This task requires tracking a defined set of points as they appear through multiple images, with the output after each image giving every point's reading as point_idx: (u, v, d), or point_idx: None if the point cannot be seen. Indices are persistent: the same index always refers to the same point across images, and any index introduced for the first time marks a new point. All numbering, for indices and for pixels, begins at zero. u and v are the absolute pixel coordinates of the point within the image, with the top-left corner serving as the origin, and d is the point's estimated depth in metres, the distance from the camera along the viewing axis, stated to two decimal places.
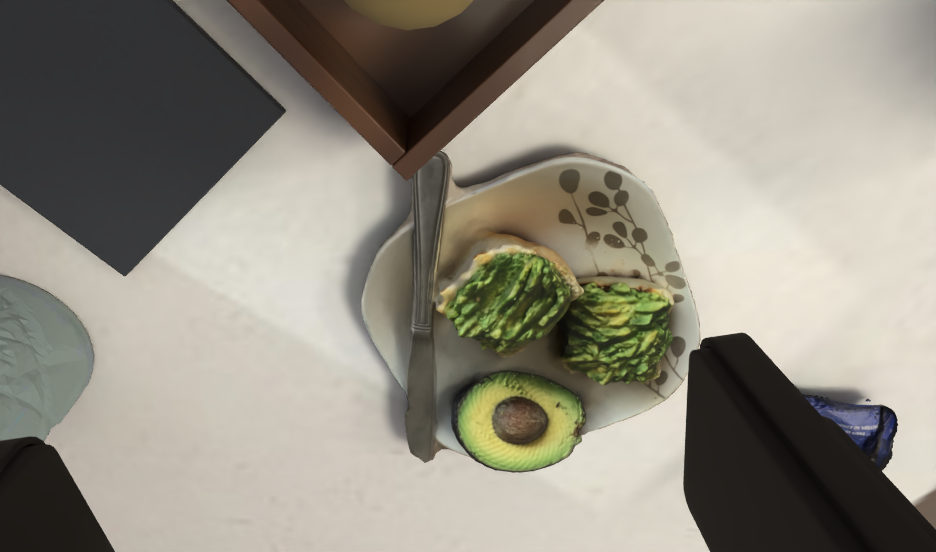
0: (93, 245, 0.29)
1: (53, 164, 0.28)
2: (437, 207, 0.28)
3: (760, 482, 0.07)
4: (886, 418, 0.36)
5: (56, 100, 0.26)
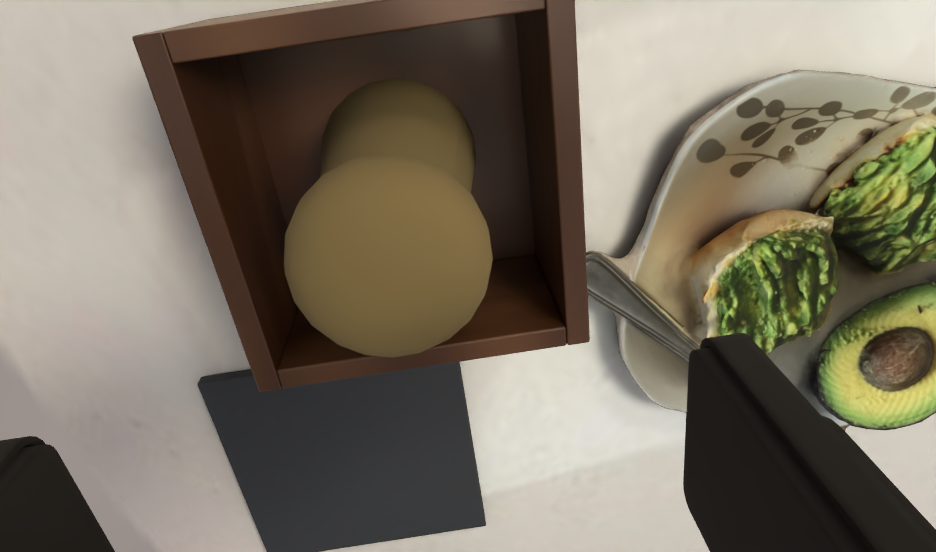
0: (448, 526, 0.33)
1: (378, 508, 0.32)
2: (628, 292, 0.25)
3: (760, 482, 0.07)
4: None
5: (339, 476, 0.31)
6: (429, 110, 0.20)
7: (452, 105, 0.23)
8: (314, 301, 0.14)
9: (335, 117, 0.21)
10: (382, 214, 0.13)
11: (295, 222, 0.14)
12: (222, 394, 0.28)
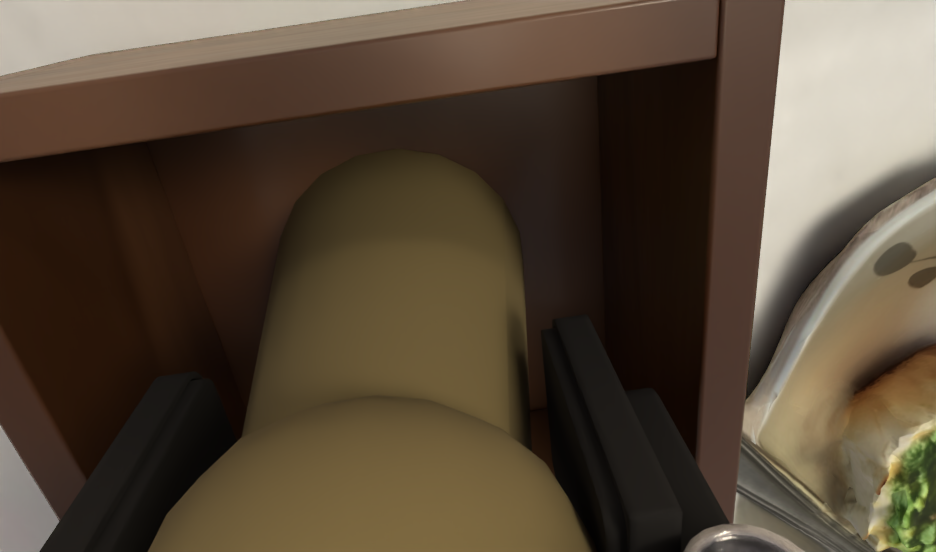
0: None
1: None
2: (751, 462, 0.17)
3: (570, 441, 0.08)
4: None
5: None
6: (455, 216, 0.12)
7: (489, 192, 0.14)
8: None
9: (297, 217, 0.13)
10: None
11: None
12: None
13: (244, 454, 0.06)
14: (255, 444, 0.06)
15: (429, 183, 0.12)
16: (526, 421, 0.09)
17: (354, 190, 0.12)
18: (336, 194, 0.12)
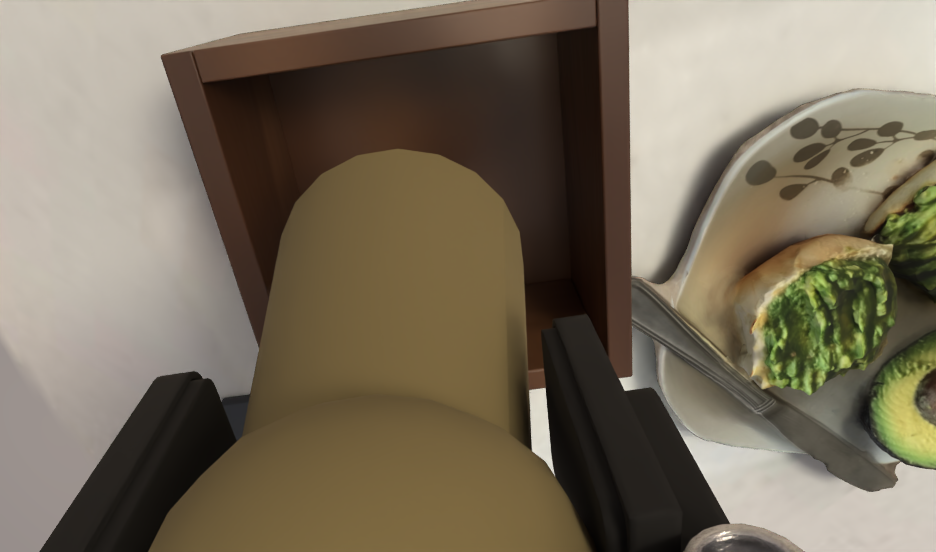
0: None
1: None
2: (670, 319, 0.24)
3: (570, 442, 0.08)
4: None
5: None
6: (454, 216, 0.12)
7: (489, 192, 0.14)
8: None
9: (297, 217, 0.13)
10: None
11: None
12: (244, 416, 0.27)
13: (245, 453, 0.06)
14: (256, 443, 0.06)
15: (429, 183, 0.12)
16: (526, 420, 0.09)
17: (354, 190, 0.12)
18: (336, 194, 0.12)
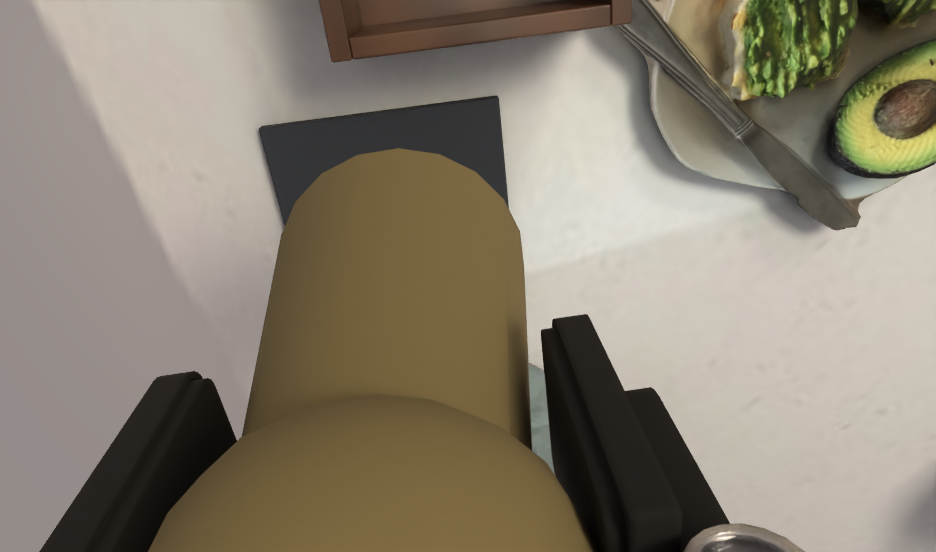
0: None
1: None
2: (662, 30, 0.28)
3: (570, 442, 0.08)
4: None
5: None
6: (455, 215, 0.12)
7: (489, 191, 0.14)
8: None
9: (297, 217, 0.13)
10: None
11: None
12: (281, 141, 0.30)
13: (245, 453, 0.06)
14: (256, 443, 0.06)
15: (429, 183, 0.12)
16: (526, 420, 0.09)
17: (354, 190, 0.12)
18: (336, 194, 0.12)
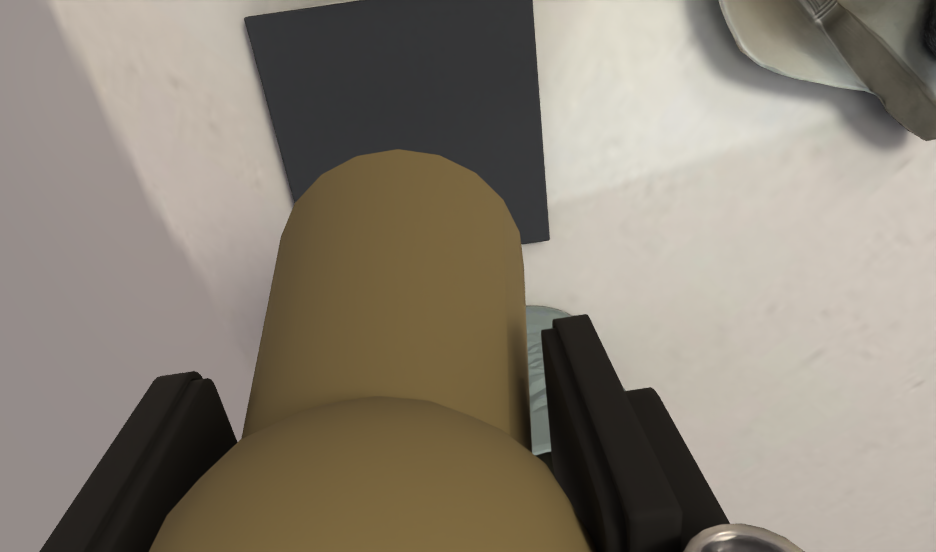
0: None
1: None
2: None
3: (570, 442, 0.08)
4: None
5: None
6: (454, 217, 0.12)
7: (489, 192, 0.14)
8: None
9: (297, 218, 0.13)
10: None
11: None
12: (271, 34, 0.25)
13: (244, 456, 0.06)
14: (255, 445, 0.06)
15: (429, 184, 0.12)
16: (526, 422, 0.09)
17: (354, 191, 0.12)
18: (336, 195, 0.12)
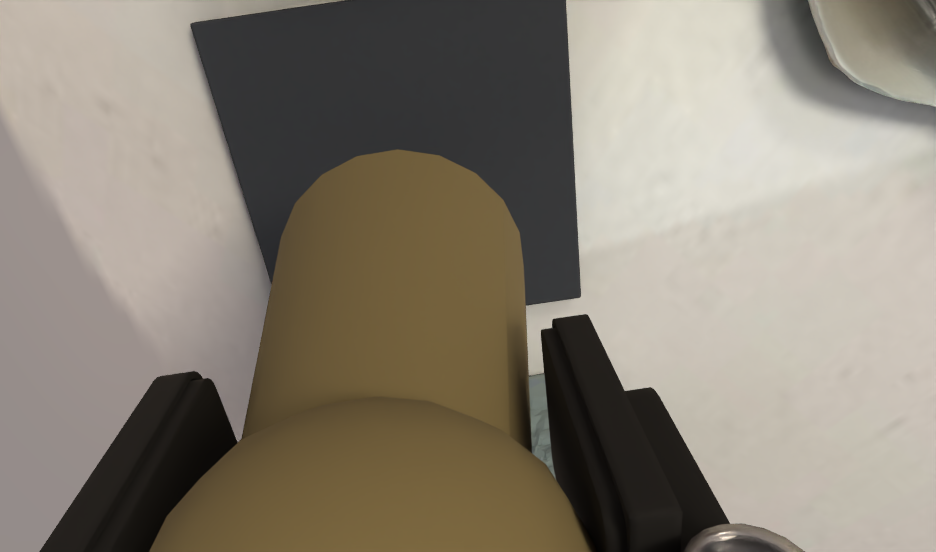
0: (531, 296, 0.24)
1: None
2: None
3: (570, 442, 0.08)
4: None
5: None
6: (454, 217, 0.12)
7: (489, 193, 0.14)
8: None
9: (297, 218, 0.13)
10: None
11: None
12: (226, 44, 0.19)
13: (244, 456, 0.06)
14: (255, 446, 0.06)
15: (429, 184, 0.12)
16: (526, 422, 0.09)
17: (354, 191, 0.12)
18: (336, 195, 0.12)
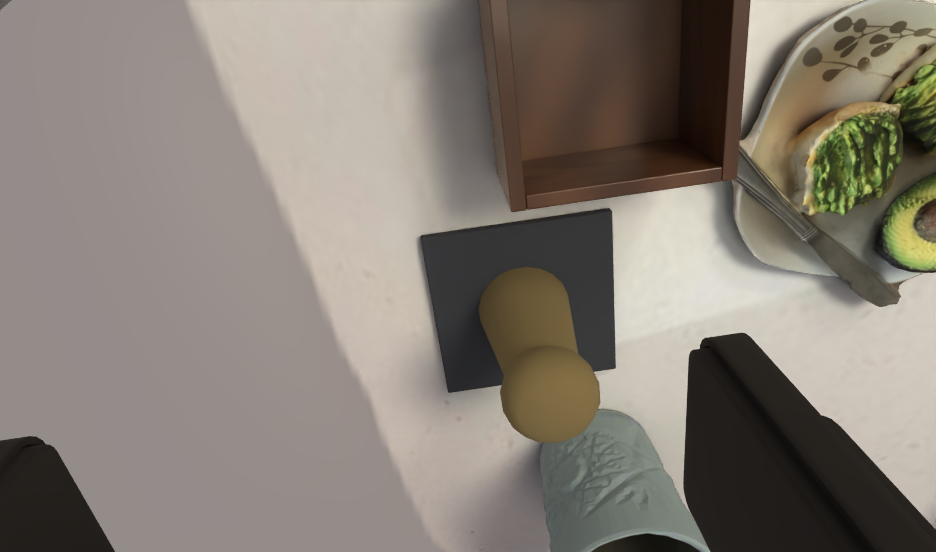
0: None
1: None
2: (747, 164, 0.35)
3: (760, 482, 0.07)
4: None
5: None
6: (551, 295, 0.37)
7: (558, 281, 0.39)
8: (521, 420, 0.30)
9: (494, 292, 0.38)
10: (557, 384, 0.30)
11: (513, 384, 0.30)
12: (437, 247, 0.38)
13: (527, 355, 0.31)
14: (529, 353, 0.31)
15: (540, 282, 0.37)
16: None
17: (517, 285, 0.37)
18: (510, 286, 0.37)
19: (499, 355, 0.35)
